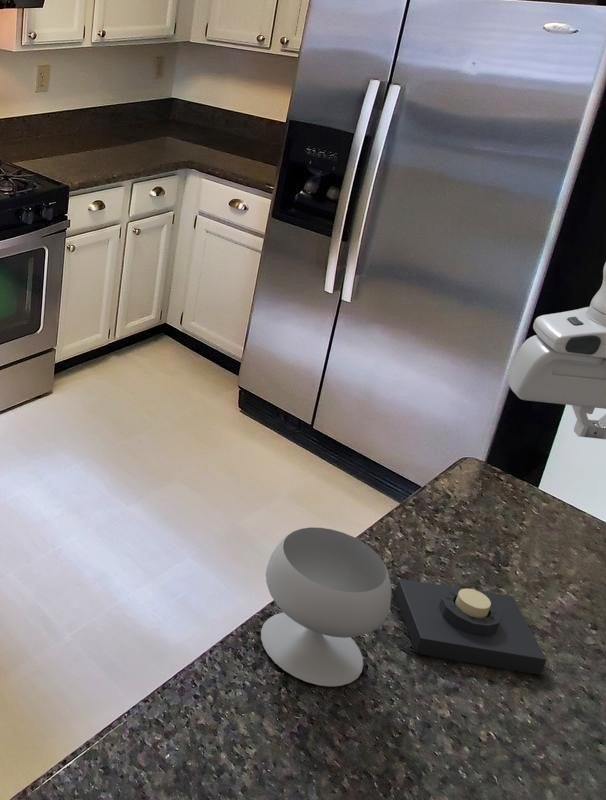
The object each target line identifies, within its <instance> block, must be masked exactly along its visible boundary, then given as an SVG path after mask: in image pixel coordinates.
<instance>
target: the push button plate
mask: <svg viewBox="0 0 606 800" xmlns="http://www.w3.org/2000/svg"><path fill="white" fill-rule="evenodd" d="M461 589H463V588H462V587H455V586H449V585H443V584H436V583H430V582H423V581H417V580H410V579H403V578H398V580H397V583H396V586H395V589H394V595H395V599H396V601H397V605H398V607H399V610H400V613H401V616H402V618H403V621H404V624H405V627H406V630H407V632H408V635H409V638H410V641H411V643H412V645H413V649H414V651H415V654H417V655H421V656H428V657H434V658H439V659H444V660H451V661H456V662H461V663H468V664H474V665H479V666H485V667H490V668H495V669H496V668H497V669H502V670H507V671H514V672H519V673H525V674H532V675H536V676H541V674H542V672H543V670H544V667H545V665H546V662H547V657H546V656H545V653H544V652H543V650H542V648H541V647H540V645H539V643H538V641H537V639H536V637H535V636H534V633H533V632H532V629H531V628H530V626H529V625H528V622H527V621H526V619H525V617H524V615H523V613H522V612H521V610H520V608H519V606H518V604H517V602H516V600H515V599H514V597H513V596H512V595H506V594H501V593H500V594H499V593H494V592H487V591H482V590H478V591H479V592H481V593H483V594H484V595H485V596H487V597H488V598H489V600H490V602H491V606H490V609H489V612H488V615H487V616H486V617H485V618H476V617H472V616H469V615H467V614H465V613H463V612H462V611H461V610H459V609H458V608H457V607H456V605H455V601H456V599H457V596H458V593H459V591H460V590H461Z"/></svg>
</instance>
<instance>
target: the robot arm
mask: <svg viewBox="0 0 606 800" xmlns="http://www.w3.org/2000/svg"><path fill="white" fill-rule="evenodd" d="M602 269H603V270H602V272H603V273H602V283H601V286H600V288H599V289H598V291H597V292H596V293H595V295H593V297H592V299H591V301H590V304H589V306H585V307H582V308H581V307H580V308H578V309H573V310H567V311H561V312H555V313H548V314H542V315H539V316H537V317H536V318H535V319H534V322H533V325H532V328H533V330H534V332H535V333H536V334H535V335H532V336H530V337H529V338H527V339H526V340H524V342H523V343H522V345H521V346H520V347H519V349H518V351H517V353H516V355H515V357H514V360H513V361H512V364H511V367H510V369H509V372H508V375H507V381H506V382H507V383H508V386H509V388H510V390H511V391H512V392H513V393H514V394H515V395H516V397H517V398H518V399H520V400H523V401H529V402H539V403H548V404H558V405H566V406H571V407H572V410H573V413H574V415H575V418H576V422H575V425H574V427H573V432H574V433H575V435H576V436H577V437H580V438H590V439H598V440H606V413H605V414H604V415H602V416H601V417H600V418H599V419H589V417H588V415H593V413H594V411H595V409H605V410H606V262H605V263H604V265H603V268H602Z"/></svg>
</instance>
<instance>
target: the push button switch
mask: <svg viewBox="0 0 606 800" xmlns="http://www.w3.org/2000/svg"><path fill="white" fill-rule="evenodd" d="M479 591H480V590H476V589H473V588H467V587H466V588H462V589H461V590H460V591H459V593H458V596H457V599H456V601H455V605H456V607H457V608H458V609H459V610H461V611H462V612H463V613H465V614H467V615H469V616H472V617H476V618H485V617H486V616H487V615H488V612H489V609H490V606H491V602H490V600H489V598H488V597H487V596H485V595H484V594H483V593H481V592H482V591H481V592H479Z"/></svg>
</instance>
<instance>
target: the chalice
mask: <svg viewBox="0 0 606 800" xmlns="http://www.w3.org/2000/svg"><path fill="white" fill-rule="evenodd" d="M265 583H266V587H267V589H268V592H269V594H270V597H271V598H272V600H273V601H274V603H275V604H276V605H277V607H278V608H279V609H280V610H281V611H282V612H280V613H276V614H274V615H272V616H270V617H269V618H268V619H267V620H265V621H264V622H263V624H262V627H261V629H260V639H261V643H262V646H263V648H264V650H265V652H266V654H267V655H268V656H269V657H270V658H271V660H272V661H273V662H274V663H275V664H276V665H277V666H278V667H279V668H281V669H282V670H283V671H284V672H286V673H288V674H290V676H293V677H294V678H297V679H299V680H302V681H303V682H306V683H309V684H313V685H316V686H321V687H323V686H324V687H341V686H345V685H348V684H351V683H352V682H354V681H356V680H357V679H358V678H359V677H360V675H361V674H362V672H363V668H364V657H363V654H362V652H361V649H360V647H359V646H358V645H357V643H356V642H355V640H354V639H353V638H357V637H361V636H364V635H367V634H370V633H372V632H374V631H375V630H377V629H378V628H379V627H380V626H381V625H383V624H384V623H385V621H386V620H387V618H388V615H389V613H390V611H391V603H392V583H391V578H390V575H389V571H388V569H387V566H386V563H384V560H383V559H382V558H381V556H380V555H379V554H378V553H377V552H376V551H375V550H374V549H373V548H372V547H370V546H369V545H368V544H367V543H365V542H364V541H362V540H360V539H358V538H357V537H355V536H352V535H350V534H348V533H345V532H343V531H339V530H335V529H332V528H325V527H313V526H312V527H311V526H310V527H302V528H299V529H297V530H294V531H291V532H290V533H289V534H287V535H286V536H284V537H283V538H282V539H281V540H280V541H279V543H278V544H277V545H276V547H275V548H274V549H273V551H272V553H271V555H270V557H269V559H268V562H267V565H266V569H265Z"/></svg>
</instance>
